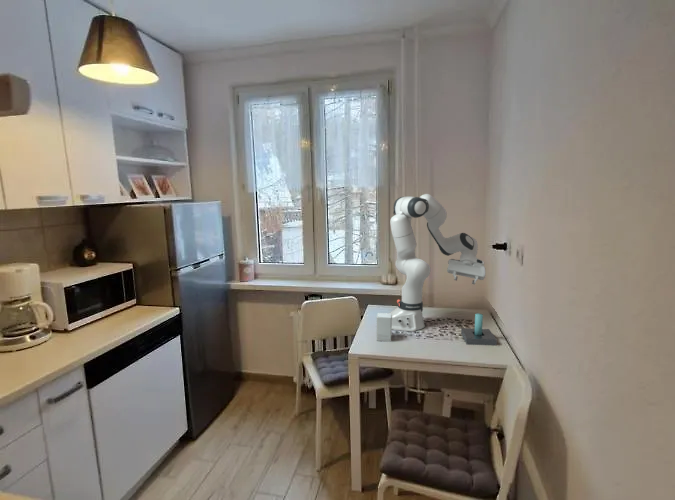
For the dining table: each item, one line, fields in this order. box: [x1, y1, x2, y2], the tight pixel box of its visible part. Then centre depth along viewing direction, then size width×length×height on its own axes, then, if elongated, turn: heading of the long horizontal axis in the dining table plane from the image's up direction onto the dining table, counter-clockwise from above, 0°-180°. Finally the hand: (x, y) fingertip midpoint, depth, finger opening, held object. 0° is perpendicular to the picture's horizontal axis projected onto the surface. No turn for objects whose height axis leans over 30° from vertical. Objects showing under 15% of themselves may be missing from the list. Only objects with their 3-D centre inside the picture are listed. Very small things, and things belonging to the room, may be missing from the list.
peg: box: [474, 313, 484, 336], centre depth 189 cm, size 4×4×13 cm
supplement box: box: [376, 312, 393, 343], centre depth 193 cm, size 7×7×13 cm
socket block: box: [460, 327, 498, 346], centre depth 190 cm, size 14×14×3 cm
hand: (464, 281), depth 206 cm, fingers open, 8 cm apart
